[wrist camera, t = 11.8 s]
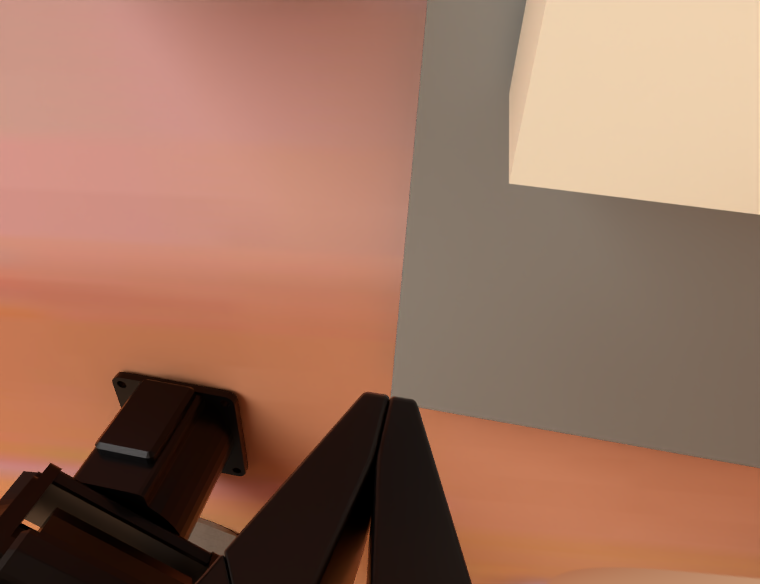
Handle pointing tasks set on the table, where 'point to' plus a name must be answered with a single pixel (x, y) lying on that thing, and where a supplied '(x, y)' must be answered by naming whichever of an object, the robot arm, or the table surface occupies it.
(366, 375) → the table surface
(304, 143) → the table surface
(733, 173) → the cream colored cube
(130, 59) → the table surface
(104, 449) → the robot arm
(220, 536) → the coffeepot
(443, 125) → the base plate
